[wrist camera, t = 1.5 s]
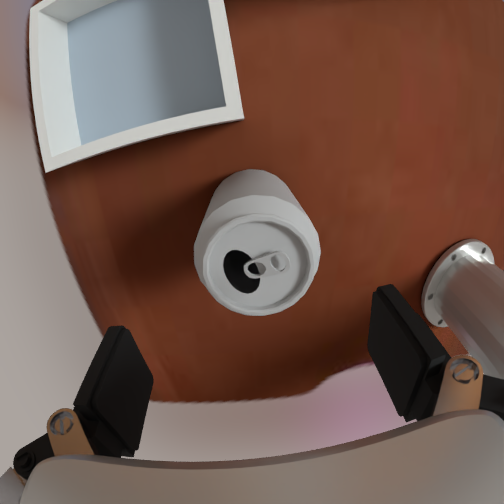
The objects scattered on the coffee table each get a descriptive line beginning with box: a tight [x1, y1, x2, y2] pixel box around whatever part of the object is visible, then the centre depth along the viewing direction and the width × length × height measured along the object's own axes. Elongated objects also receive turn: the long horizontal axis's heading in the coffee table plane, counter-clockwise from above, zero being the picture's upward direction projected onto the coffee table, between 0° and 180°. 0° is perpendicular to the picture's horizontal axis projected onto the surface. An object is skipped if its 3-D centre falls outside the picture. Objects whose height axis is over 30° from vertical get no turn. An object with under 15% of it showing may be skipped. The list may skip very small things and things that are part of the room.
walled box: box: [29, 0, 244, 173], centre depth 17 cm, size 16×16×6 cm
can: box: [194, 169, 321, 316], centre depth 21 cm, size 8×8×12 cm
